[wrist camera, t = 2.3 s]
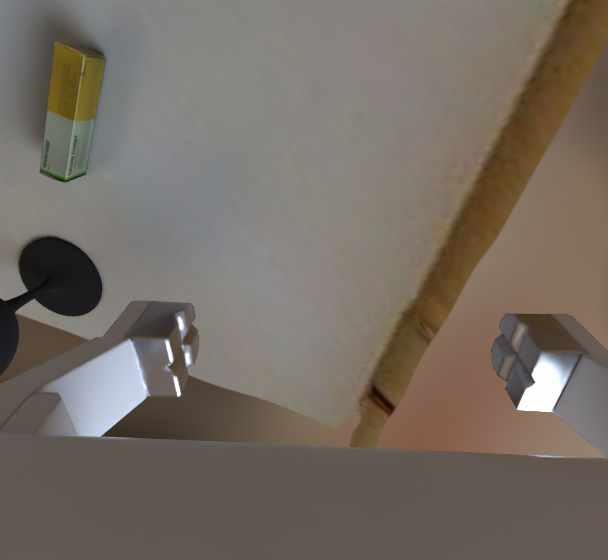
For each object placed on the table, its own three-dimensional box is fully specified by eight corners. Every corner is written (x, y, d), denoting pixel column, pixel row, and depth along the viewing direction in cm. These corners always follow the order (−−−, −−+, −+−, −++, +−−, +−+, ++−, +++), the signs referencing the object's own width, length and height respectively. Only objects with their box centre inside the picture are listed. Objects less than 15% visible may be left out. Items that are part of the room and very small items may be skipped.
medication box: (87, 176, 40) (65, 185, 36) (62, 166, 39) (36, 173, 36) (108, 57, 34) (84, 53, 31) (79, 43, 34) (51, 38, 30)
